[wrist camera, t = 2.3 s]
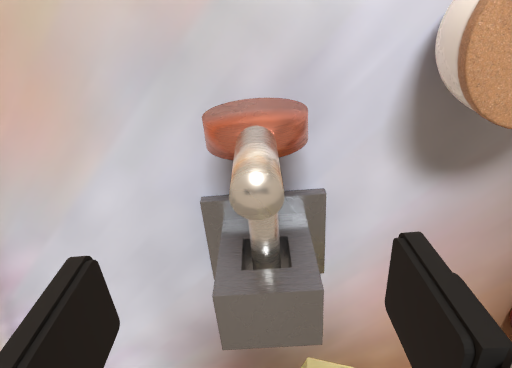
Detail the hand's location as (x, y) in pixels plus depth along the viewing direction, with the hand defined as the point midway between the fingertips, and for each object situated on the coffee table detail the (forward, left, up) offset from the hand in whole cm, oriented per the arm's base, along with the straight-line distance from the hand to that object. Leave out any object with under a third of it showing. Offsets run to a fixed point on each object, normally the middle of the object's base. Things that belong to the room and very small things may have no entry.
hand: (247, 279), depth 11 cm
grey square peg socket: (+14, 0, -21) cm, 25 cm away
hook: (+8, 0, -18) cm, 19 cm away
